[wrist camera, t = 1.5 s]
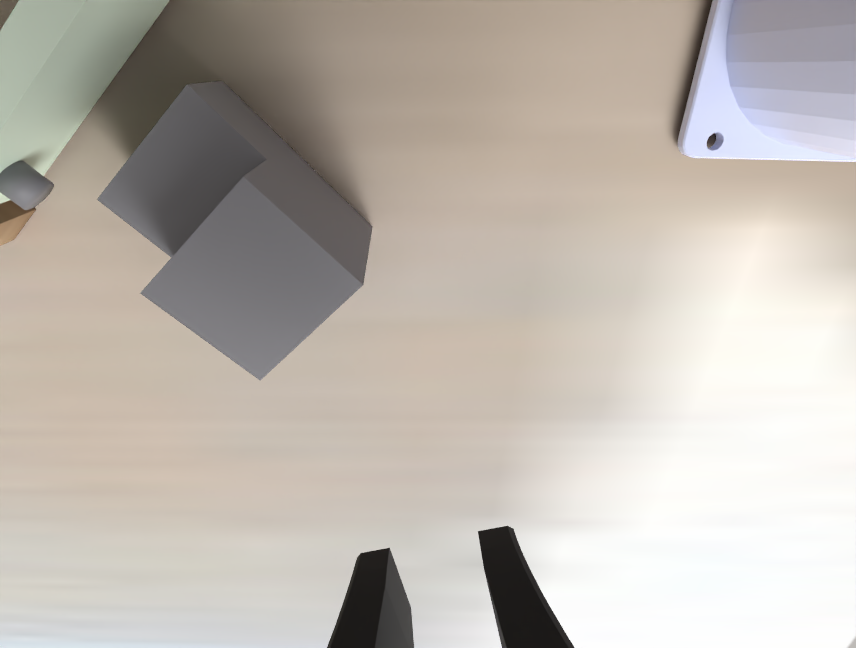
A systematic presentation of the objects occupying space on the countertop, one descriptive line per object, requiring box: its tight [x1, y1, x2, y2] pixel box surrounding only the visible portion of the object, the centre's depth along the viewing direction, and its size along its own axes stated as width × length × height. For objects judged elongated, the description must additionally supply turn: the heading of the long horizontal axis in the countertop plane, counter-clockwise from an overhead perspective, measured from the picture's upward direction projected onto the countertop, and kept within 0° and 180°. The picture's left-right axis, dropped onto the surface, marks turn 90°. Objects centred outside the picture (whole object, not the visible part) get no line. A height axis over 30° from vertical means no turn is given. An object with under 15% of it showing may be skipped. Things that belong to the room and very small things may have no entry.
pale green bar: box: [0, 0, 170, 210], centre depth 12 cm, size 10×2×4 cm, turn 133°
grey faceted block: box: [97, 81, 372, 380], centre depth 14 cm, size 4×6×5 cm, turn 43°
